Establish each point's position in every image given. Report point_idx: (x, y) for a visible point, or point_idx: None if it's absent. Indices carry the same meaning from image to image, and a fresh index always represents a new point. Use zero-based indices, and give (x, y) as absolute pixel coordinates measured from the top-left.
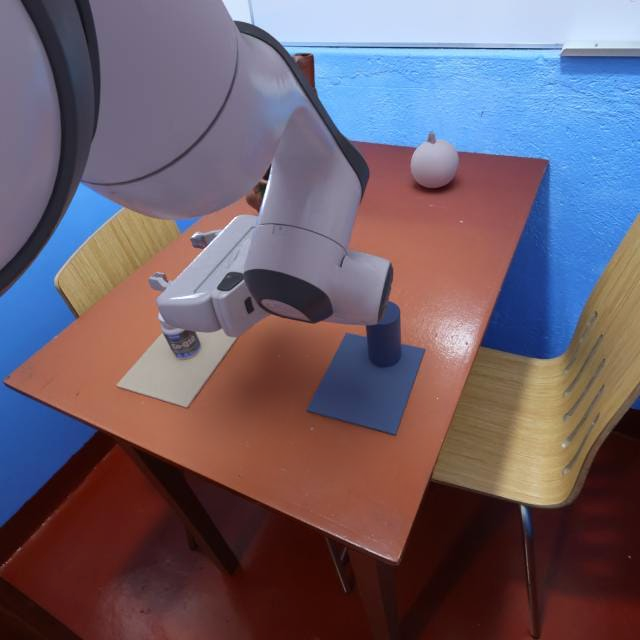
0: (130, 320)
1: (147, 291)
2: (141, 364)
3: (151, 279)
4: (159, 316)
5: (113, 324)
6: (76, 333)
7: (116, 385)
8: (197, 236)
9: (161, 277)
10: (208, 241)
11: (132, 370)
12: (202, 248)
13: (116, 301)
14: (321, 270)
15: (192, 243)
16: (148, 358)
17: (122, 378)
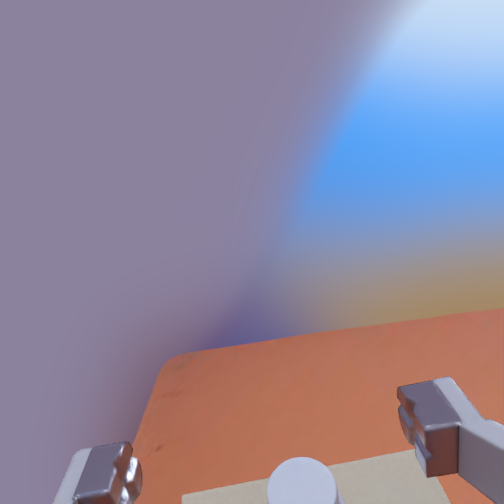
0: (321, 389)
1: (389, 359)
2: (241, 498)
3: (70, 465)
4: (277, 471)
5: (300, 376)
6: (261, 351)
7: (182, 496)
8: (429, 405)
9: (81, 498)
10: (475, 466)
11: (222, 494)
12: (424, 469)
13: (340, 342)
14: None
15: (400, 408)
16: (259, 498)
17: (200, 492)
